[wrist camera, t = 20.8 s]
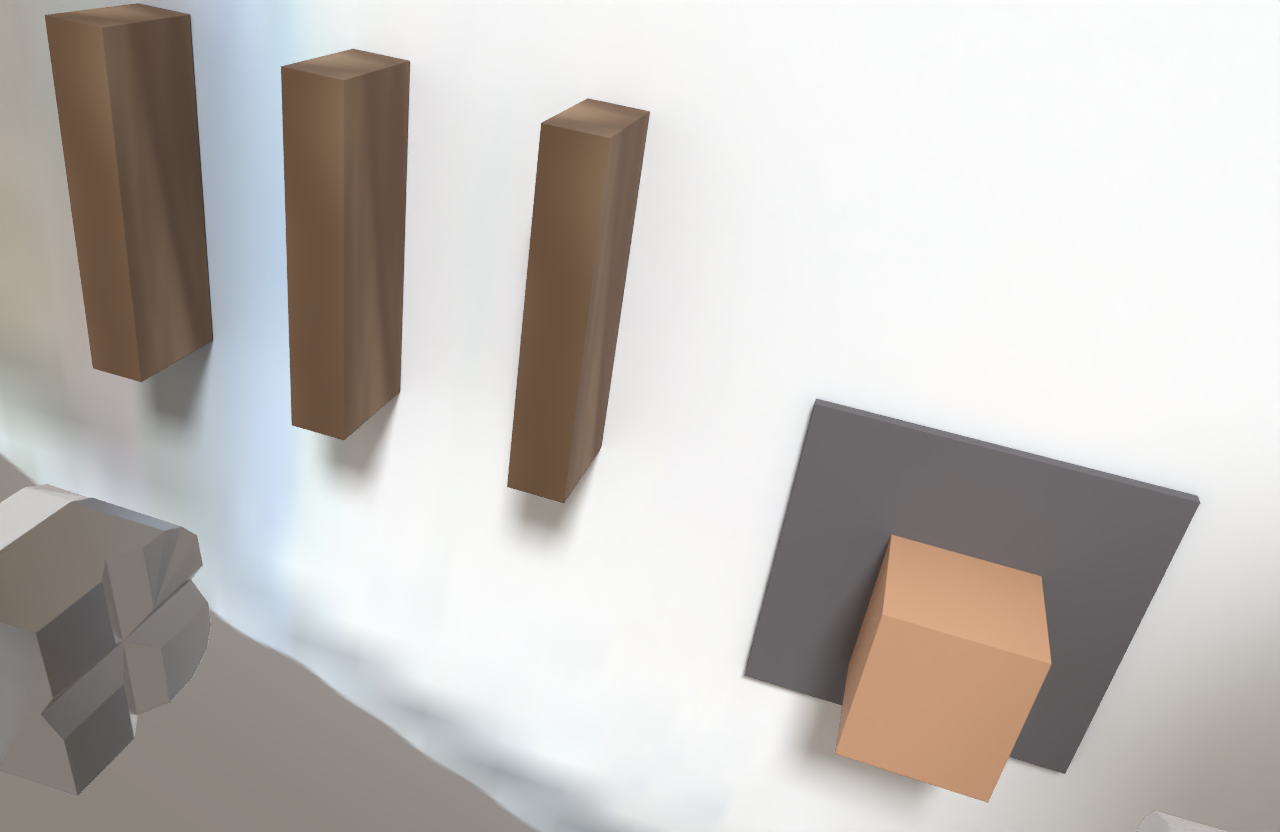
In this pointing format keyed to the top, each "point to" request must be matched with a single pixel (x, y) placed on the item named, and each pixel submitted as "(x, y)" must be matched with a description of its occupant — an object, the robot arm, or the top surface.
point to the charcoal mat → (970, 525)
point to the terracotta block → (944, 668)
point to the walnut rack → (333, 232)
